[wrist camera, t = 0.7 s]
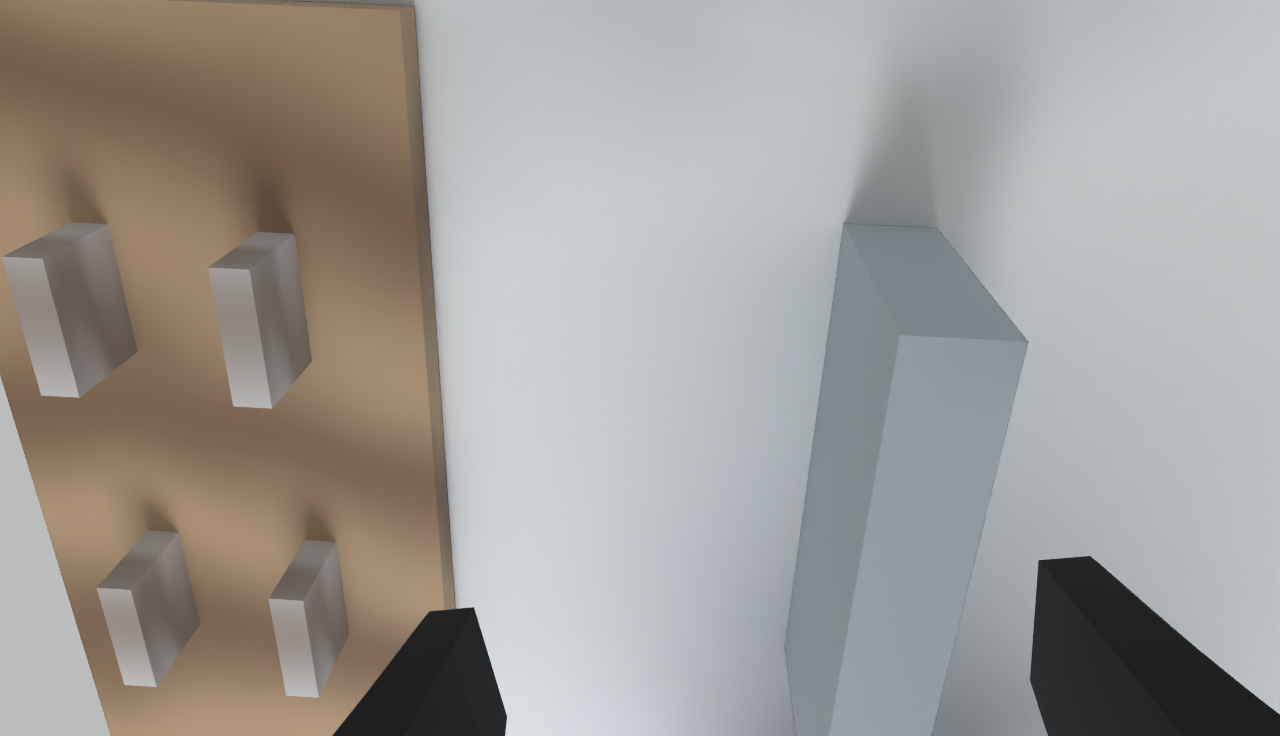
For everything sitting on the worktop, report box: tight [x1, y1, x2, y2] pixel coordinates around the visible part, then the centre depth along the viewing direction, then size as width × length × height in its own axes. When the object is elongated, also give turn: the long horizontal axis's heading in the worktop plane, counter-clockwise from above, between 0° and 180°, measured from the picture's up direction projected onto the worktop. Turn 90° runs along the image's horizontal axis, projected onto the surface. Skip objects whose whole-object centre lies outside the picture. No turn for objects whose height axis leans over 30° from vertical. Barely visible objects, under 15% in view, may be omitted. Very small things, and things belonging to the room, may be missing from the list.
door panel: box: [784, 223, 1028, 736], centre depth 20 cm, size 12×2×6 cm, turn 178°
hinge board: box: [0, 0, 455, 736], centre depth 21 cm, size 20×10×3 cm, turn 178°
